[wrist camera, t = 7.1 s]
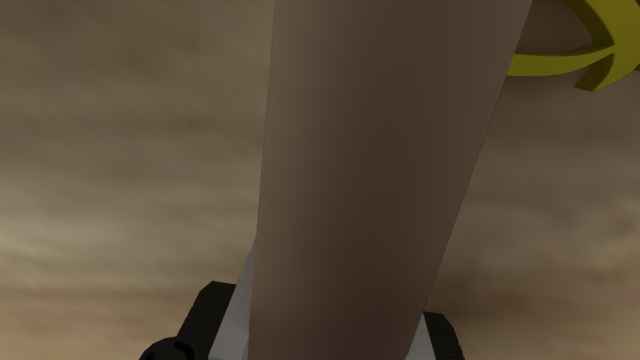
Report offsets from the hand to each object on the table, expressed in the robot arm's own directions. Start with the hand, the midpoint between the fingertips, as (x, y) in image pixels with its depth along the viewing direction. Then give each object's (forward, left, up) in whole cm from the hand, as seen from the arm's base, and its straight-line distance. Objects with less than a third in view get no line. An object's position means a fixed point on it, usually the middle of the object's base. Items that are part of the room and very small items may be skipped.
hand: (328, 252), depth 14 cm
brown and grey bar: (0, 0, 0) cm, 0 cm away
